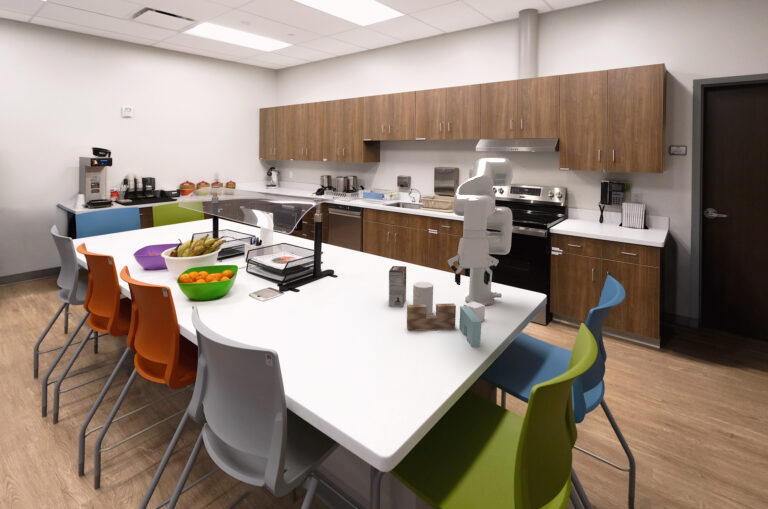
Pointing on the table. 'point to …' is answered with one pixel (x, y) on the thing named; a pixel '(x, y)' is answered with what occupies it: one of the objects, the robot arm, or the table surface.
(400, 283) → the coffee box
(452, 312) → the walnut slotted board
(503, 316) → the table surface
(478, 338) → the teal slotted board
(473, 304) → the white cube
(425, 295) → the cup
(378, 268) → the table surface
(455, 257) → the robot arm
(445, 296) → the table surface
